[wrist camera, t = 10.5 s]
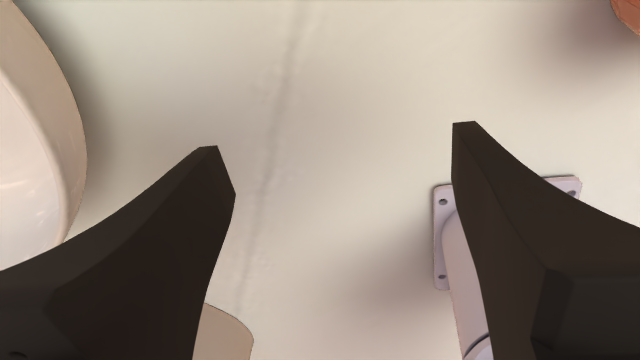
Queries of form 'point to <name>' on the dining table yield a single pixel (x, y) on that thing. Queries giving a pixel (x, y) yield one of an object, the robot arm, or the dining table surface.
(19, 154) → the serving bowl
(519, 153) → the dining table surface
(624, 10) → the cup
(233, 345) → the cream round tub
